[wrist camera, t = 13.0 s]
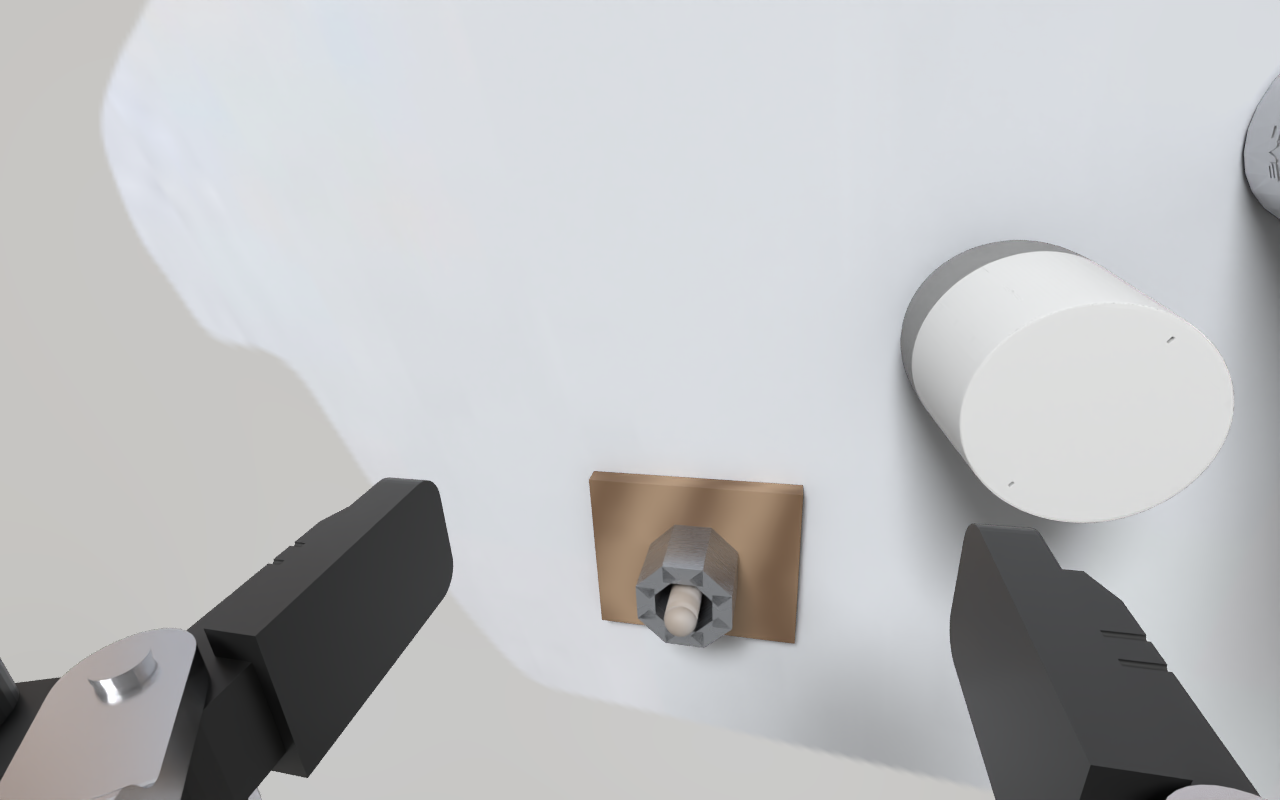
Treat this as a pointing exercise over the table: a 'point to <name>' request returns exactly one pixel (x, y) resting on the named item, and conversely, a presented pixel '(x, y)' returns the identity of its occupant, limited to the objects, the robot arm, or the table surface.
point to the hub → (689, 582)
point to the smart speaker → (1064, 382)
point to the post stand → (736, 510)
